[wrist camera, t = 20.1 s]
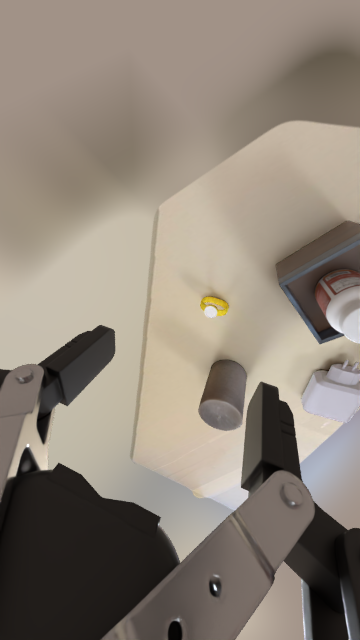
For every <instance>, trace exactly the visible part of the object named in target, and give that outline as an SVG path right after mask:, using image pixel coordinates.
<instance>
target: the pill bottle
mask: <svg viewBox="0 0 360 640" xmlns="http://www.w3.org/2000/svg"><path fill="white" fill-rule="evenodd" d="M315 298H316V300H317V302H318V304H319V306H320V308H321V309H322V311H323V313H324V315H325V317H326V318H327V320H328V322H329V324H330V325H331V326H332V327H333V328H334V329H335V330H337V331H338V332H340V333H343V334H344V335H345V336H346V337H347V338H348V339H349V340H351V341H353V342H356V343H360V273H358V272H356V271H354V270H349V269H341V270H336V271H333V272H330V273H328V274H327V275H325V276H324V277H323V278H322V279H321V280H320V281H319V282H318V284H317V286H316V289H315Z"/></svg>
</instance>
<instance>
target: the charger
mask: <svg viewBox="0 0 360 640" xmlns="http://www.w3.org/2000/svg"><path fill="white" fill-rule="evenodd" d="M348 362H349V360H346V361H345V362H344V364H333V365H332V366H331V368H330V370H329V372H328V371H324V370H320V371H316V372H314V373H313V375H312V377H311V379H310V381H309V384H308V386H307V388H306V390H305V392H304V394H303V396H302V398H301V399H302V405H303V409H304V410H305V411H306V412H308V413H311V414H314V415H318V416H321V417H325V418H328V419H332V420H336V421H339V422H343V423H348V422H349V421H350V419H351V418H352V416H353V415H354V414H355V412H356V411H357V410H358V408H359V407H360V381H359V380H360V370H359V369H357V368H356V367H357V366H358V364H359V362H356V363H355V364H354V366H353V367H352V366H347V363H348Z"/></svg>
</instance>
